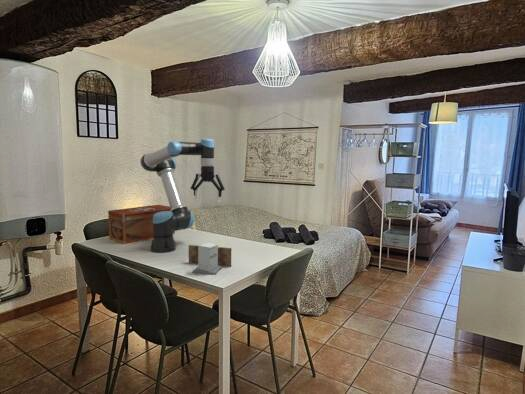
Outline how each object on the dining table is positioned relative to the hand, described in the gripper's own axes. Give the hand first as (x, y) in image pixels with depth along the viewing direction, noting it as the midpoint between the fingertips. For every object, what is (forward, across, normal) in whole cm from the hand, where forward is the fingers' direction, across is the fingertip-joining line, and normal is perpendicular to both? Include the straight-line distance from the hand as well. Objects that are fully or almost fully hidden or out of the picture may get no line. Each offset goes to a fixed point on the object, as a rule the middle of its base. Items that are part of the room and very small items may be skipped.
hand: (207, 201), depth 194 cm
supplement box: (+31, +11, -27) cm, 42 cm away
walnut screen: (+32, +8, -18) cm, 37 cm away
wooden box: (+32, -60, +28) cm, 74 cm away
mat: (+32, +10, -27) cm, 43 cm away
